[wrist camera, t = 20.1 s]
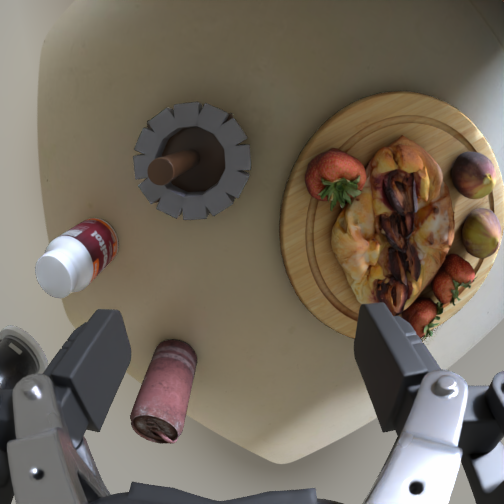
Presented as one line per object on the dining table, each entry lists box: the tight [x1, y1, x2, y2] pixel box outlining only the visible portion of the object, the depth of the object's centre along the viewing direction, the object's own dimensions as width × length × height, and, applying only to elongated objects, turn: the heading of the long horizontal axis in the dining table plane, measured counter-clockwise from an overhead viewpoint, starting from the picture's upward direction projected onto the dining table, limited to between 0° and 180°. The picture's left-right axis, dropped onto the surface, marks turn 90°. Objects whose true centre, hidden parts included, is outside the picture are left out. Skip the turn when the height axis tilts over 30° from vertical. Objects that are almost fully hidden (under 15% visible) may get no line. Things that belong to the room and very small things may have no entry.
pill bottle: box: [35, 218, 118, 298], centre depth 31 cm, size 6×6×11 cm
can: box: [130, 339, 197, 443], centre depth 36 cm, size 6×6×14 cm
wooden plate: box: [279, 91, 504, 339], centre depth 31 cm, size 32×32×8 cm
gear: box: [133, 102, 251, 220], centre depth 30 cm, size 12×12×2 cm
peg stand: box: [147, 113, 236, 203], centre depth 27 cm, size 9×9×12 cm
